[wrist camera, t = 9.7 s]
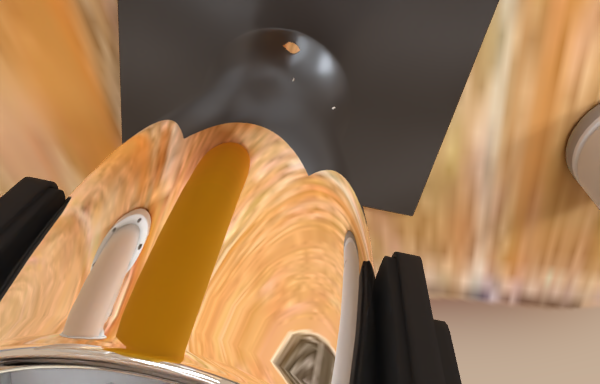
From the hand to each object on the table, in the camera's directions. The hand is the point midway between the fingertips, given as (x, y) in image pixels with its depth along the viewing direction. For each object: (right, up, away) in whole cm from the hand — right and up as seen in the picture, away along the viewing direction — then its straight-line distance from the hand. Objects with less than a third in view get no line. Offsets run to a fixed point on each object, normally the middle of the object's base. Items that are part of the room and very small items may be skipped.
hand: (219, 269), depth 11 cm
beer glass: (+1, +6, +9) cm, 10 cm away
